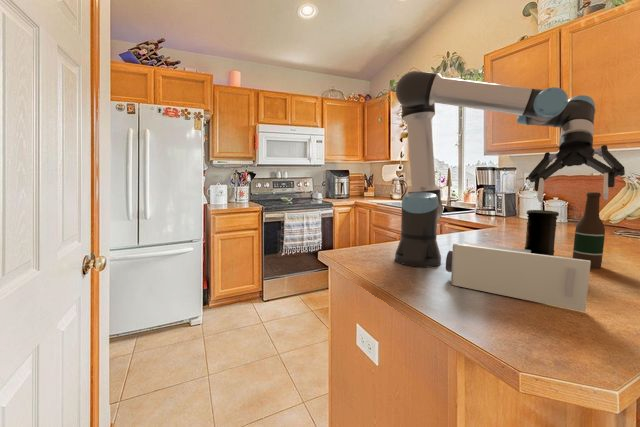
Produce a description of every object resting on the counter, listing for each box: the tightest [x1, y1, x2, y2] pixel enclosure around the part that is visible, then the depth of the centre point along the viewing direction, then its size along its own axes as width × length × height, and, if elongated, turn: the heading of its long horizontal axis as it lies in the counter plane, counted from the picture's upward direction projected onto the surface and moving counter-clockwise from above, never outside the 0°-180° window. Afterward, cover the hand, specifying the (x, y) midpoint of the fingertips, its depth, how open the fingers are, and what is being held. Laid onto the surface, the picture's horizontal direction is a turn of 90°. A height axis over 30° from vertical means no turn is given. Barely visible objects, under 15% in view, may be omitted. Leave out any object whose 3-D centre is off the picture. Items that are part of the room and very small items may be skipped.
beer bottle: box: [572, 191, 606, 270], centre depth 100 cm, size 8×8×24 cm
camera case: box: [445, 242, 531, 273], centre depth 83 cm, size 19×10×10 cm, turn 52°
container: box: [523, 209, 560, 256], centre depth 101 cm, size 9×9×18 cm
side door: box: [450, 243, 591, 313], centre depth 74 cm, size 28×2×11 cm, turn 52°
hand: (570, 198), depth 82 cm, fingers open, 13 cm apart
